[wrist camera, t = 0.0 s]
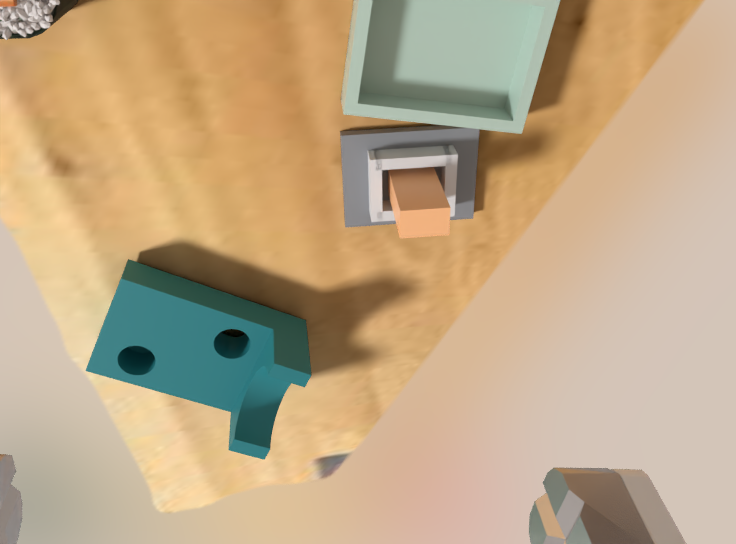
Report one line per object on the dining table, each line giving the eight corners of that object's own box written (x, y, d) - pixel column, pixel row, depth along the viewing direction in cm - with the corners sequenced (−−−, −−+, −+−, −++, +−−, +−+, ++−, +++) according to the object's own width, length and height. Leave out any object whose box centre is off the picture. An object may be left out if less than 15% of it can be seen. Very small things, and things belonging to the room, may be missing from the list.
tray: (359, -43, 50) (363, -35, 47) (546, -15, 53) (561, -6, 50) (340, 99, 56) (343, 114, 53) (510, 118, 59) (521, 133, 56)
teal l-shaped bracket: (305, 312, 69) (311, 375, 60) (264, 390, 73) (264, 459, 64) (131, 252, 63) (109, 311, 54) (97, 340, 67) (71, 408, 58)
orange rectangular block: (387, 167, 59) (400, 211, 52) (432, 164, 59) (450, 207, 53) (388, 193, 61) (400, 238, 54) (431, 190, 61) (449, 234, 54)
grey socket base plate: (340, 131, 58) (342, 145, 55) (477, 122, 59) (485, 136, 56) (344, 221, 63) (347, 238, 60) (470, 213, 64) (478, 229, 61)
